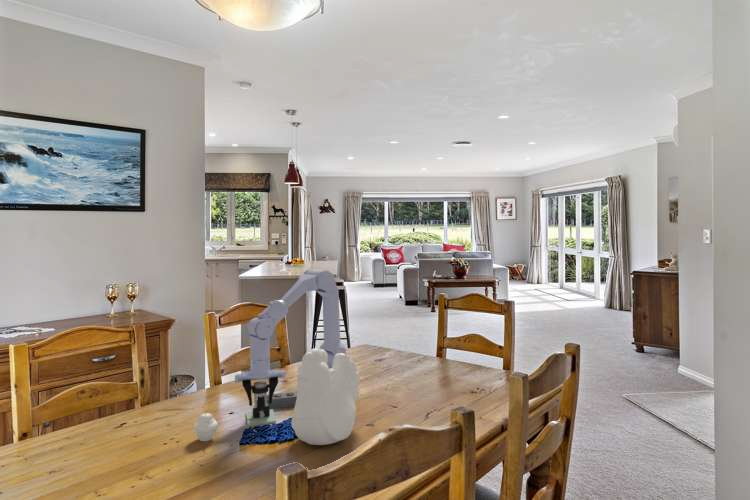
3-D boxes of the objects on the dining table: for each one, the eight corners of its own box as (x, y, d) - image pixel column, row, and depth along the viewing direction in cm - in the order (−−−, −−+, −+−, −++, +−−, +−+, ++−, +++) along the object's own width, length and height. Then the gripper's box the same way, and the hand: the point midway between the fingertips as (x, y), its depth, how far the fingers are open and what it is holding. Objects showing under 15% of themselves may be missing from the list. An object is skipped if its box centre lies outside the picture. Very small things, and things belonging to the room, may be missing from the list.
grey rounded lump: (195, 445, 121) (194, 419, 121) (192, 436, 126) (192, 411, 126) (220, 441, 124) (219, 414, 123) (216, 432, 129) (216, 407, 129)
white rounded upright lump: (316, 461, 112) (315, 358, 111) (278, 441, 123) (277, 348, 122) (386, 430, 130) (385, 341, 129) (347, 415, 141) (347, 333, 140)
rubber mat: (272, 410, 145) (272, 408, 145) (276, 422, 135) (276, 420, 135) (246, 413, 143) (246, 412, 143) (247, 426, 133) (247, 424, 133)
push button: (248, 421, 135) (247, 387, 135) (246, 415, 140) (245, 382, 140) (271, 417, 137) (270, 384, 137) (268, 411, 142) (267, 379, 142)
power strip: (313, 398, 156) (312, 387, 156) (315, 403, 151) (315, 392, 151) (257, 404, 150) (257, 393, 150) (259, 410, 146) (258, 398, 146)
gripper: (283, 353, 145) (283, 396, 145) (234, 357, 140) (234, 401, 140) (285, 358, 138) (286, 404, 138) (234, 363, 133) (235, 409, 134)
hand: (260, 403), depth 139 cm, fingers closed on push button, 5 cm apart
